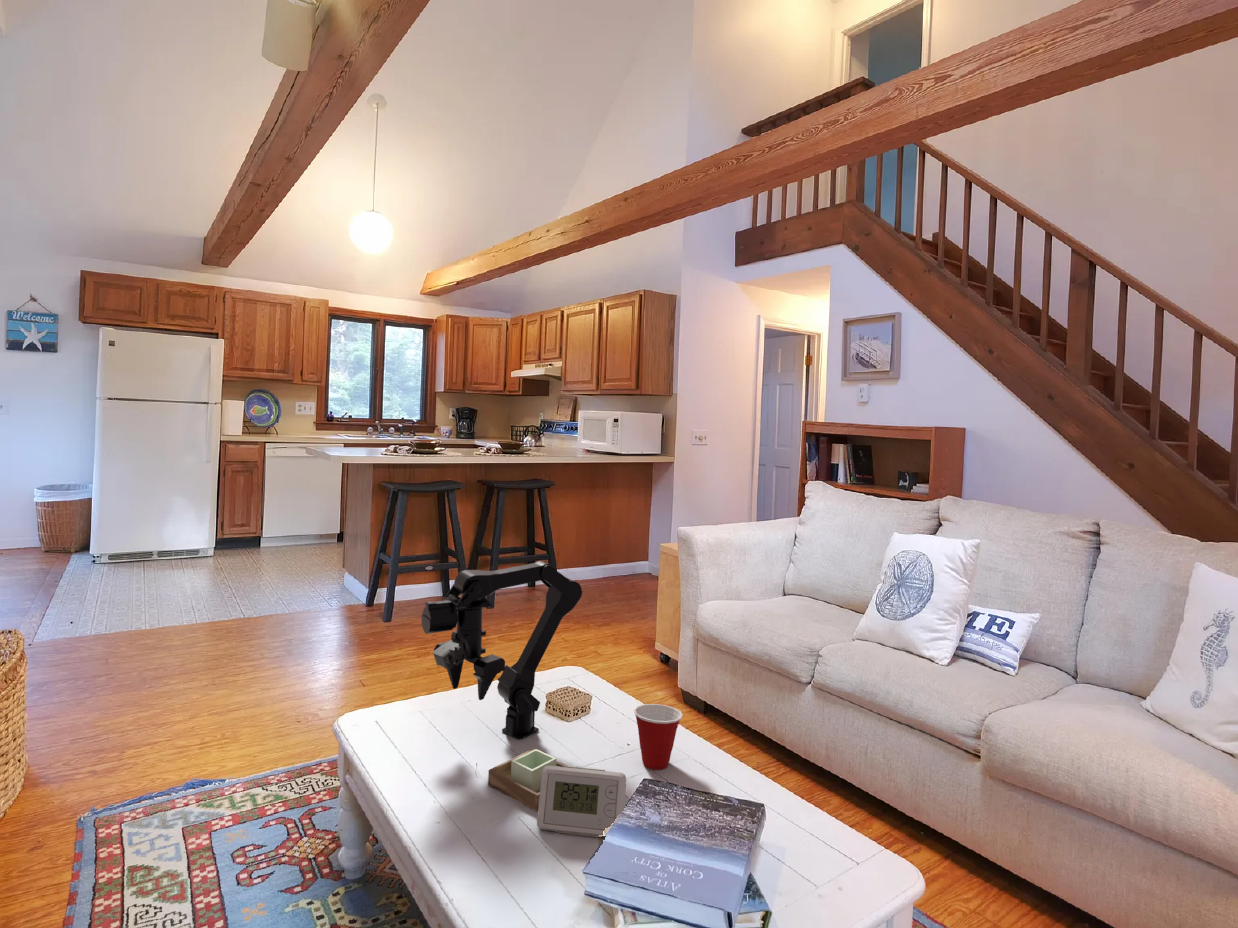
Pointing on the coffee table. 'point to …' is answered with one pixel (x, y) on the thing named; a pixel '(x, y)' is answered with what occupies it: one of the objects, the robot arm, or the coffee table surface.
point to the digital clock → (580, 800)
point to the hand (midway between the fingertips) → (467, 693)
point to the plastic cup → (656, 733)
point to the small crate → (531, 769)
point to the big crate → (513, 784)
